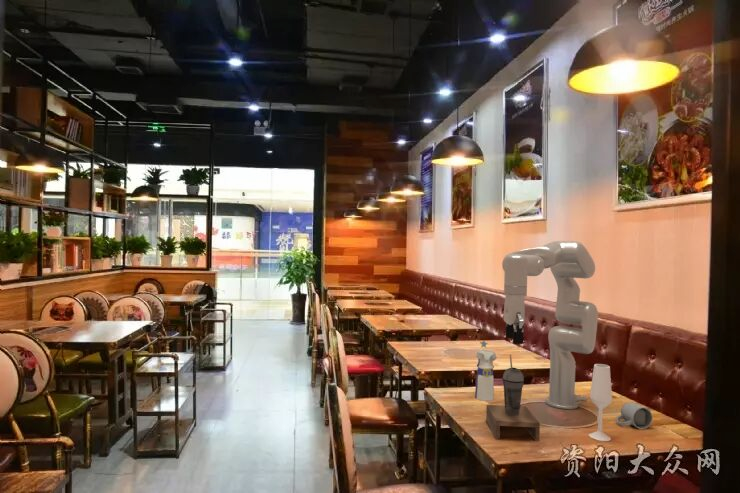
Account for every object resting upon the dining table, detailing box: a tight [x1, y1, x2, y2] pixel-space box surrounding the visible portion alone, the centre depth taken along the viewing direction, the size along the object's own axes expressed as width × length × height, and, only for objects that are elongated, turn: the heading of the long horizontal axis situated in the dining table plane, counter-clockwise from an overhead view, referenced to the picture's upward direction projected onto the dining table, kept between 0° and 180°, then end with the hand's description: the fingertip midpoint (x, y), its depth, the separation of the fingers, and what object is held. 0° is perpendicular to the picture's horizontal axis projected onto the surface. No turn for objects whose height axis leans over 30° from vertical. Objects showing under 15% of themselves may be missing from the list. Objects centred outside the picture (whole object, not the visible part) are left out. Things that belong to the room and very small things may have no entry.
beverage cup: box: [502, 354, 525, 416], centre depth 164 cm, size 7×7×20 cm
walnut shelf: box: [485, 404, 541, 442], centre depth 164 cm, size 14×16×6 cm
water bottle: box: [474, 339, 497, 402], centre depth 199 cm, size 8×9×25 cm
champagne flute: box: [588, 363, 613, 442], centre depth 160 cm, size 7×7×24 cm
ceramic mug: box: [615, 402, 653, 430], centre depth 173 cm, size 11×8×8 cm
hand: (514, 340), depth 164 cm, fingers open, 9 cm apart
